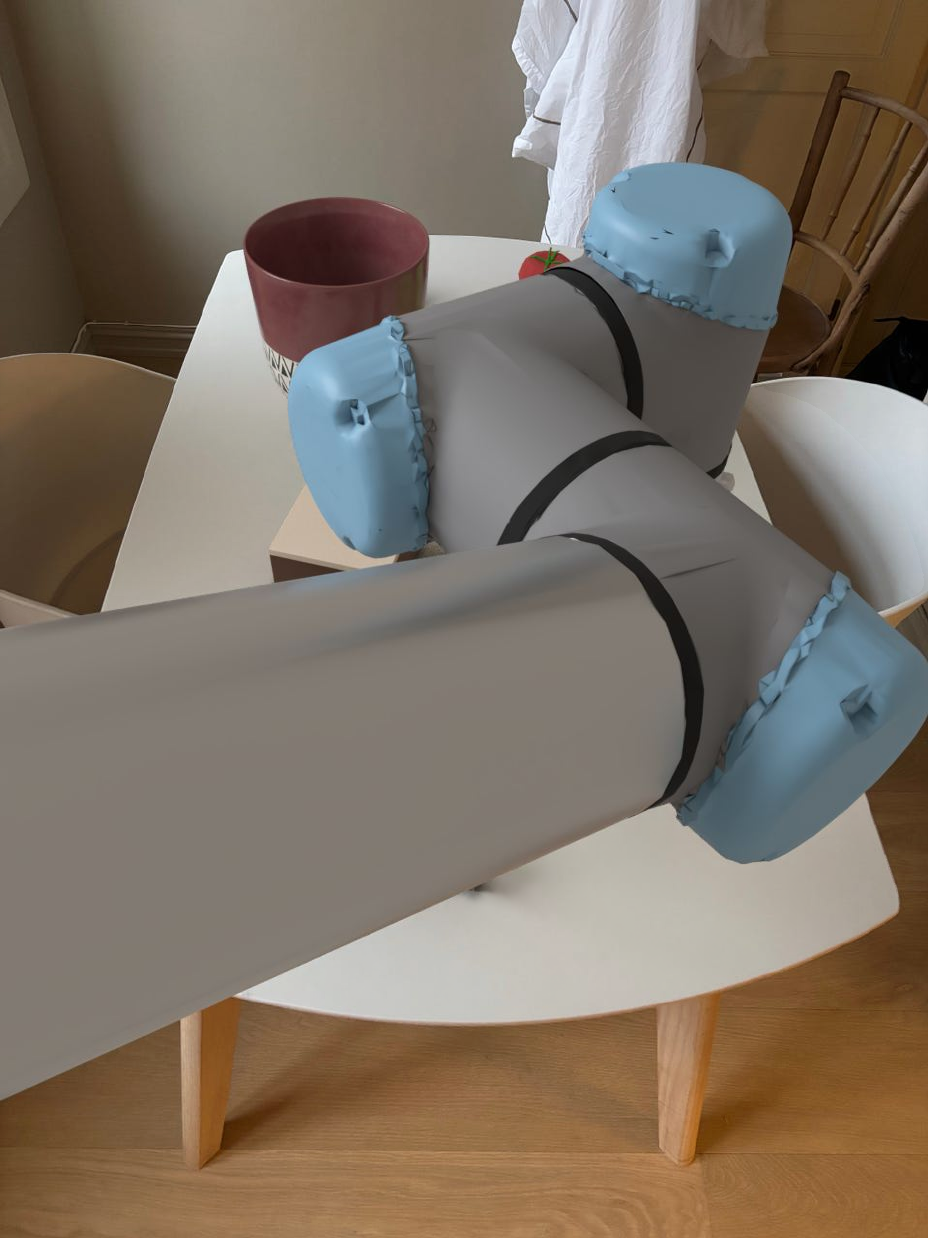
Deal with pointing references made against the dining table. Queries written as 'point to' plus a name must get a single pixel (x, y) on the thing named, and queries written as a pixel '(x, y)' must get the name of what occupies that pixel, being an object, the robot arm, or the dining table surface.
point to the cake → (316, 546)
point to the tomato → (541, 263)
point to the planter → (331, 273)
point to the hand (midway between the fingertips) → (570, 775)
